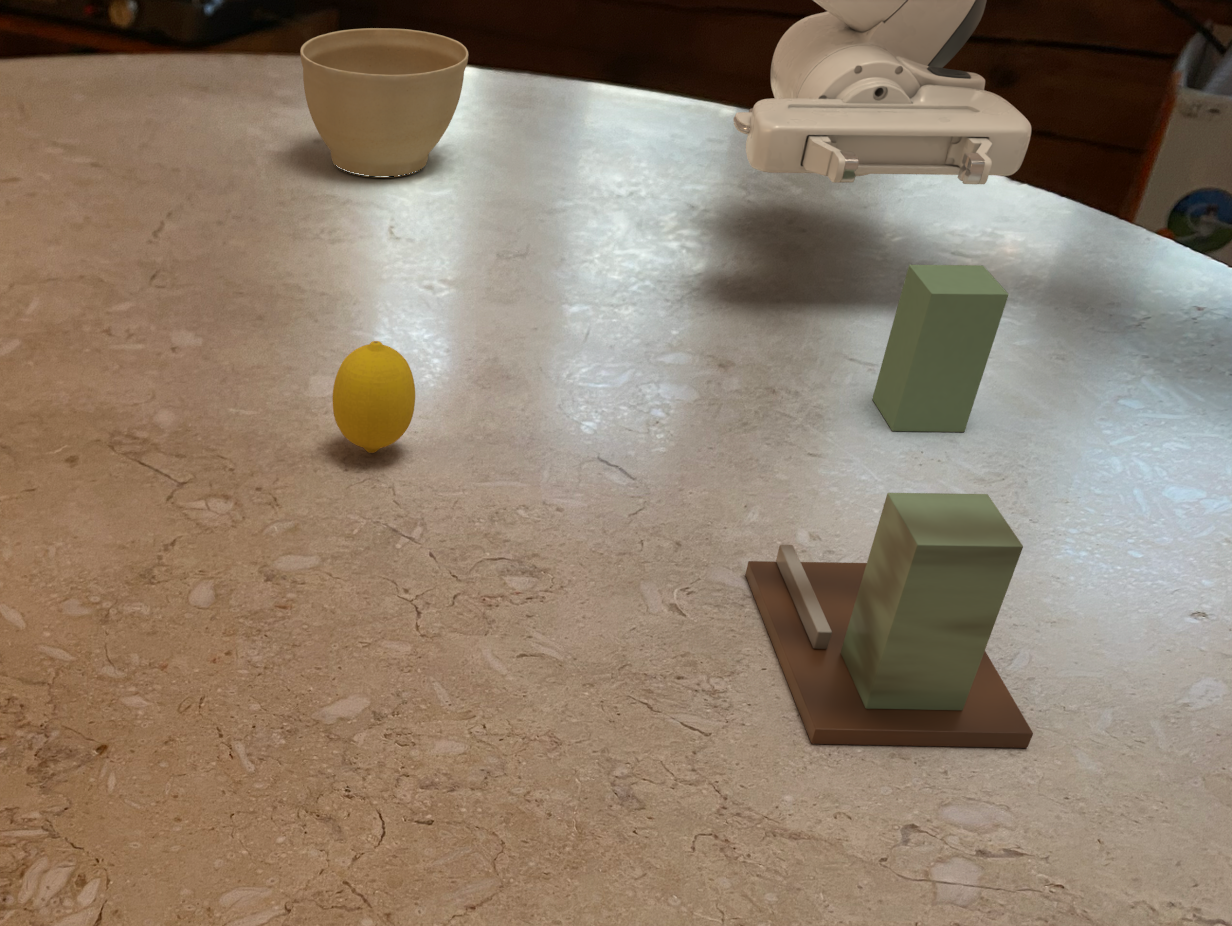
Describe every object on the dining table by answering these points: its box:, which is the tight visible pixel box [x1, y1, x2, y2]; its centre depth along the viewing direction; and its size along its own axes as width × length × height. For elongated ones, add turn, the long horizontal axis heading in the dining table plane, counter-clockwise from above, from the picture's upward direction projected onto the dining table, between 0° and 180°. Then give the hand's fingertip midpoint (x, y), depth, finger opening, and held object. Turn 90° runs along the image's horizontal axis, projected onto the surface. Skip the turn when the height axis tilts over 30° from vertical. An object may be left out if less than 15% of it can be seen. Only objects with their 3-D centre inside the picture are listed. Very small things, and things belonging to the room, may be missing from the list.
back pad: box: [871, 264, 1010, 433], centre depth 101 cm, size 5×5×10 cm
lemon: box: [332, 340, 416, 454], centre depth 97 cm, size 6×6×8 cm
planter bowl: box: [299, 27, 469, 179], centre depth 143 cm, size 16×16×11 cm
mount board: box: [744, 492, 1034, 749], centre depth 78 cm, size 16×11×11 cm
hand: (912, 172), depth 105 cm, fingers open, 8 cm apart
